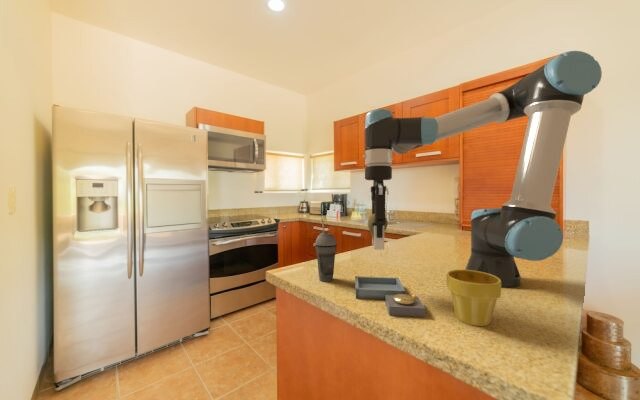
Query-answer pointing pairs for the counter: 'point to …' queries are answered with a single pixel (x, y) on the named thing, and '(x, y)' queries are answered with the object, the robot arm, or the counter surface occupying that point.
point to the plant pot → (473, 295)
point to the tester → (404, 307)
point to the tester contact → (404, 299)
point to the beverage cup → (325, 255)
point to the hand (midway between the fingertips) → (377, 246)
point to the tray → (377, 287)
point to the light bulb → (371, 228)
